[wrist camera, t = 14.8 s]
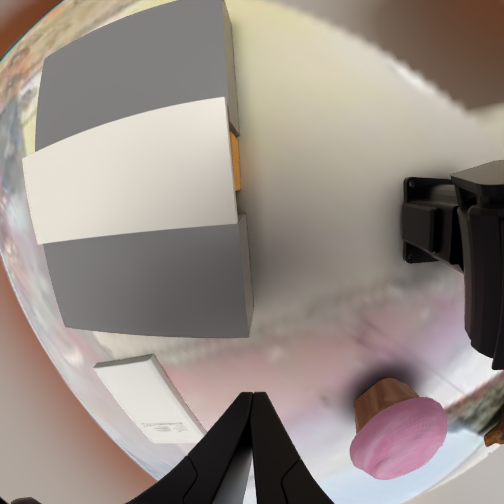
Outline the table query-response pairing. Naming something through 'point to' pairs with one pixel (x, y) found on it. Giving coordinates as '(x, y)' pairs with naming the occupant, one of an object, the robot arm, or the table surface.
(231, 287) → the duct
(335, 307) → the table surface
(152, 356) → the external hard drive
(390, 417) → the cupcake
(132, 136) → the panel
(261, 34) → the table surface
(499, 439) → the decorative turtle
